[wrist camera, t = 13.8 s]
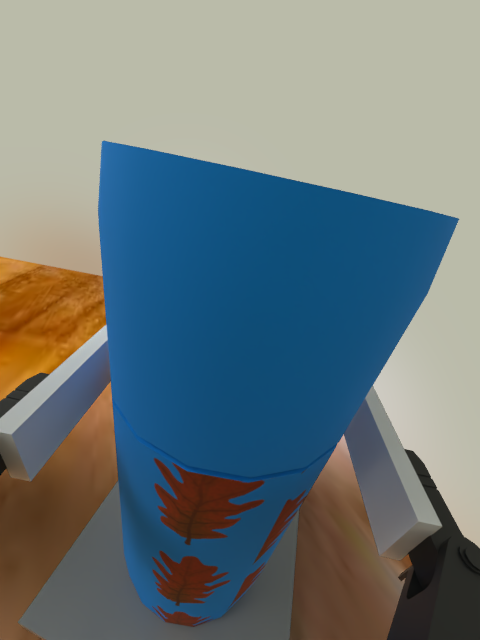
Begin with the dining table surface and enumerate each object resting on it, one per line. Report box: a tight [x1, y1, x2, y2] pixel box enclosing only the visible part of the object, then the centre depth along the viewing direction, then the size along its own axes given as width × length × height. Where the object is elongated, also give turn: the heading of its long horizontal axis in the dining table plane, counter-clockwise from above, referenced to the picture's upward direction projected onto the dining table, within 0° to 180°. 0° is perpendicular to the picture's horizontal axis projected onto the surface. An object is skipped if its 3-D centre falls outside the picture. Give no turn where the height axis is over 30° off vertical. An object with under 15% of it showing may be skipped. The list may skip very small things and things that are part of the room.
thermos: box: [98, 141, 459, 627], centre depth 15 cm, size 11×11×25 cm
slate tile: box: [18, 480, 299, 640], centre depth 21 cm, size 16×16×1 cm
